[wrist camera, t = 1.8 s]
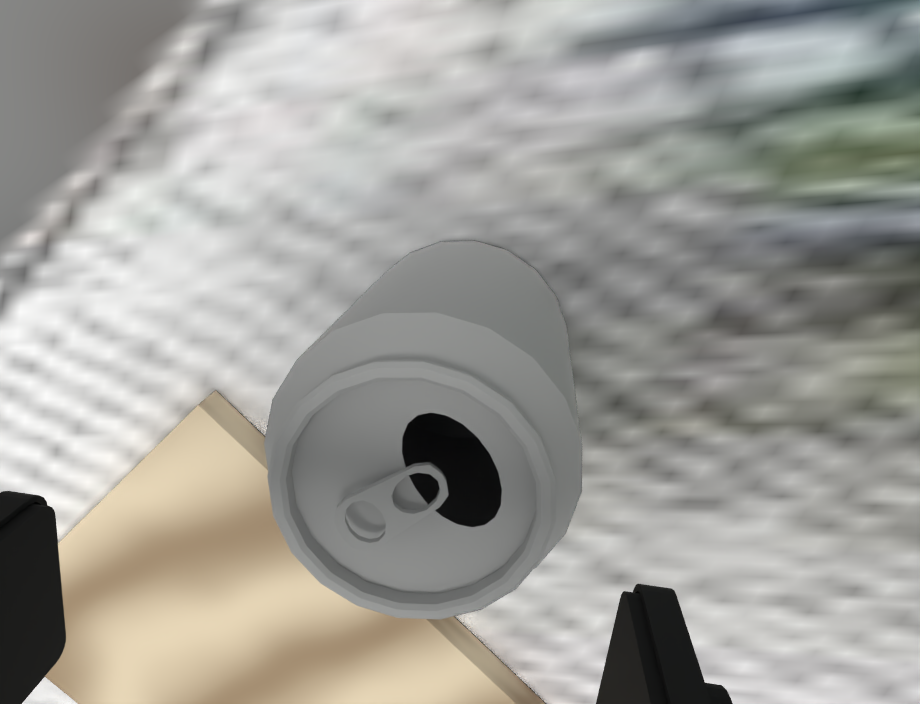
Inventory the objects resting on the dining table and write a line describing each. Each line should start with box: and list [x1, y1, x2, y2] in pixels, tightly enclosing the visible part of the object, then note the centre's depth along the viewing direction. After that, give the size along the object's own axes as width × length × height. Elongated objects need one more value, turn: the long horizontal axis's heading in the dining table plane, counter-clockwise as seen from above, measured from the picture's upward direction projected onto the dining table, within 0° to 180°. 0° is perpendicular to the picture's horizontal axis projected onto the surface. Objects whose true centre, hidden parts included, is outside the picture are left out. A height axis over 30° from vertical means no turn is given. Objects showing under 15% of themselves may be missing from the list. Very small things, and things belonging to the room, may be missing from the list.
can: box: [264, 241, 582, 619], centre depth 20 cm, size 8×8×12 cm
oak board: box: [45, 390, 545, 704], centre depth 31 cm, size 22×16×2 cm
